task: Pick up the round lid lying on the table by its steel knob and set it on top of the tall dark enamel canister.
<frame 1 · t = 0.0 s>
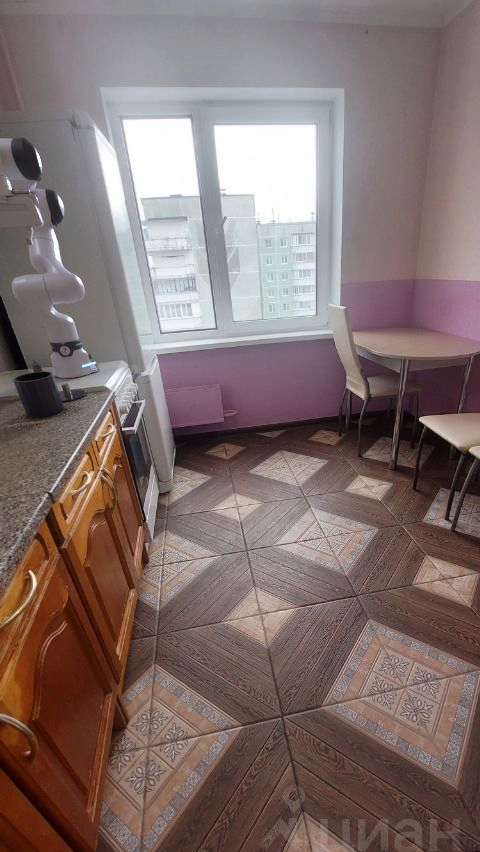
hand: (13, 245, 118), 48 cm above the countertop, tool pointing down, fingers open, 8 cm apart
lid: (68, 396, 139), point 1 cm above the countertop
salt shaker: (45, 391, 148), on the countertop
canister: (46, 413, 127), on the countertop
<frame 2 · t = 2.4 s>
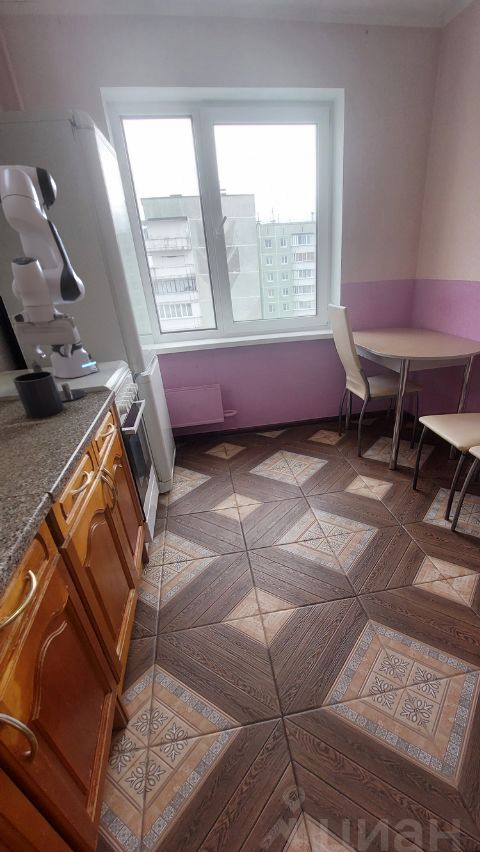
hand: (55, 357, 132), 15 cm above the countertop, tool pointing down, fingers open, 8 cm apart
nothing on the countertop moved.
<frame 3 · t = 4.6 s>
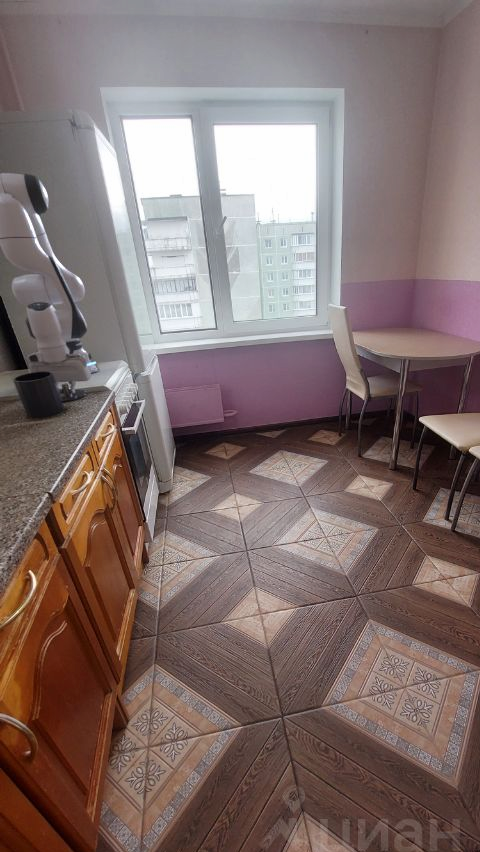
hand: (67, 393, 139), 2 cm above the countertop, tool pointing down, fingers closed on lid, 2 cm apart
lid: (68, 396, 139), point 1 cm above the countertop, touching gripper
everything else where it was.
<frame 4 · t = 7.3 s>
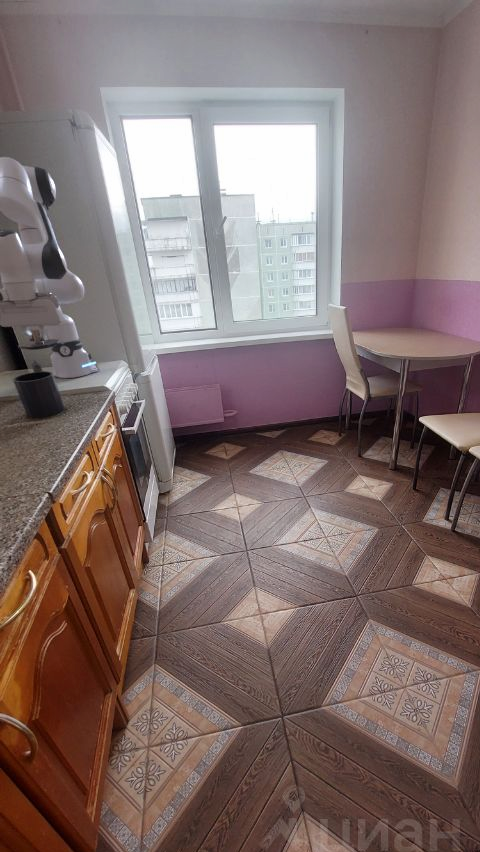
hand: (38, 340, 123), 22 cm above the countertop, tool pointing down, fingers closed on lid, 2 cm apart
lid: (40, 344, 124), point 20 cm above the countertop, touching gripper
everything else where it was.
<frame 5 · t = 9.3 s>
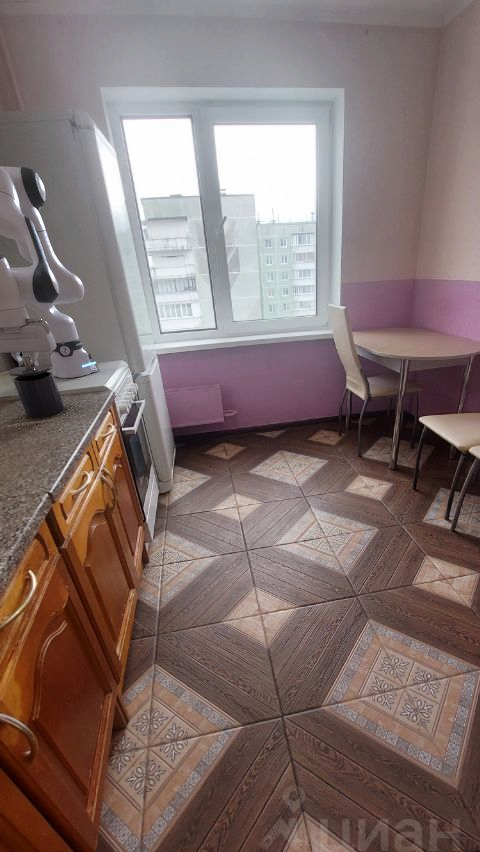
hand: (29, 366, 119), 16 cm above the countertop, tool pointing down, fingers closed on lid, 2 cm apart
lid: (30, 370, 120), point 14 cm above the countertop, touching gripper
everything else where it was.
when the fingers open (14 cm above the countertop, at t = 10.2 s): lid stays where it is, resting on canister.
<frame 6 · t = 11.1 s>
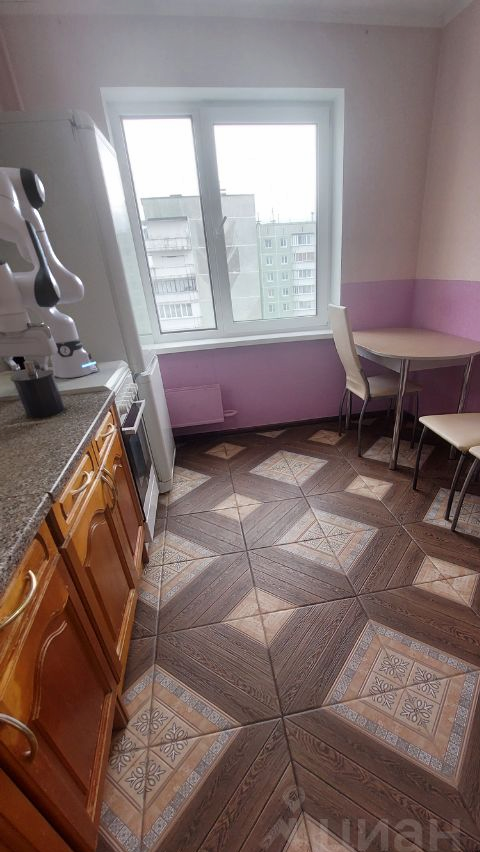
hand: (31, 370, 120), 14 cm above the countertop, tool pointing down, fingers open, 8 cm apart
lid: (33, 376, 121), point 12 cm above the countertop, touching canister
everything else where it was.
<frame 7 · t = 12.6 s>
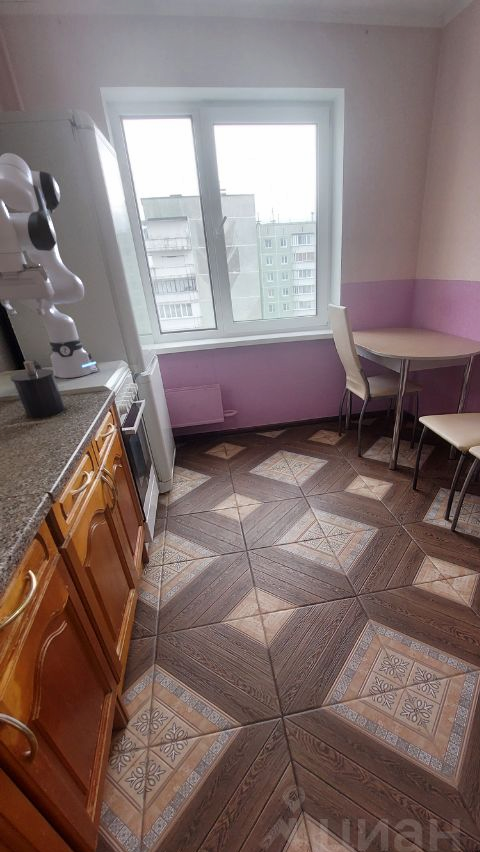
hand: (27, 314, 120), 29 cm above the countertop, tool pointing down, fingers open, 8 cm apart
nothing on the countertop moved.
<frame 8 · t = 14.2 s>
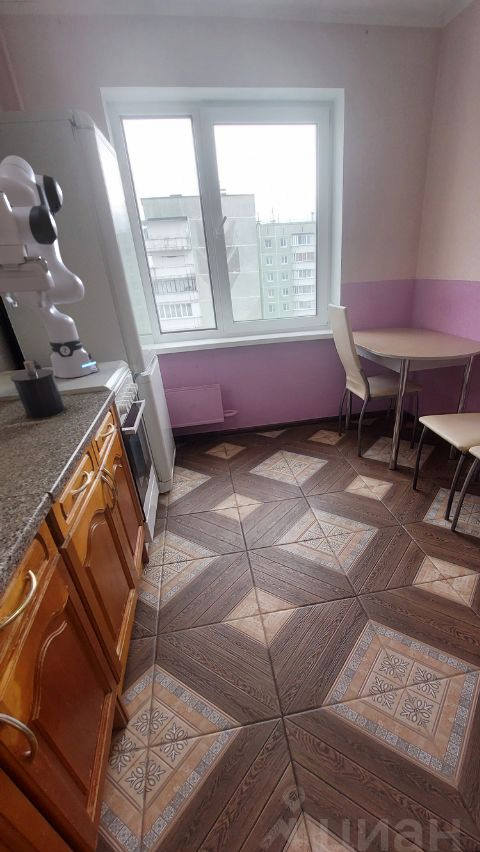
hand: (28, 307, 120), 31 cm above the countertop, tool pointing down, fingers open, 8 cm apart
nothing on the countertop moved.
at the end: lid 0.1 cm off-centre on the canister, point 12.5 cm above the canister's base; lid tilted 0°; the gripper is holding nothing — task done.
